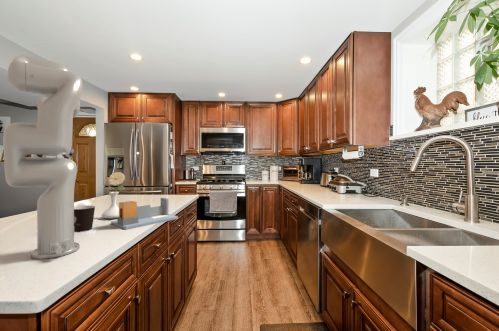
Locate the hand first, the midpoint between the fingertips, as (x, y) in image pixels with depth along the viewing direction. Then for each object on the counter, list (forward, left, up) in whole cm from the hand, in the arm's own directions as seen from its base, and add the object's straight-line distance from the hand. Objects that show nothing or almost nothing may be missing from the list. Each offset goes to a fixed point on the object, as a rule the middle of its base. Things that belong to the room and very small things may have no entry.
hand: (55, 166), depth 108 cm
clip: (-22, -23, -24) cm, 40 cm away
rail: (-20, -33, -28) cm, 48 cm away
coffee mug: (-12, -8, -28) cm, 32 cm away
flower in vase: (0, -26, -28) cm, 38 cm away
